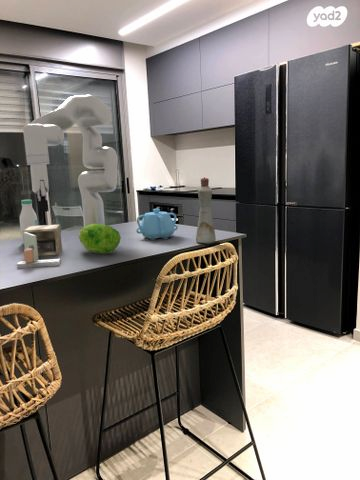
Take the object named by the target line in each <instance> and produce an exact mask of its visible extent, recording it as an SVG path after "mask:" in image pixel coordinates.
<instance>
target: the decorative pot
mask: <svg viewBox="0 0 360 480" xmlns="http://www.w3.org/2000/svg"><path fill="white" fill-rule="evenodd" d="M171 216H173V218H172V217H171ZM140 218H142V219H141V222H140ZM176 222H177V215H176V213H174V212H167V211H161V209H160V208H153V209H152V211H150V212H145V213H144V214H141V215H138V216H137V218H136V223H137V226H138V227H137V228H136V233H137V234H139V235H140V234H141V235H142V236H143V237H145V238H148V239H149V240H151V241H154V240H156V239H157V238H163V239H166V240H167V239H169V238H170V237H172V236H173V235H174V233H175V231H177V230H178V225H177V224H176Z"/></svg>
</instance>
